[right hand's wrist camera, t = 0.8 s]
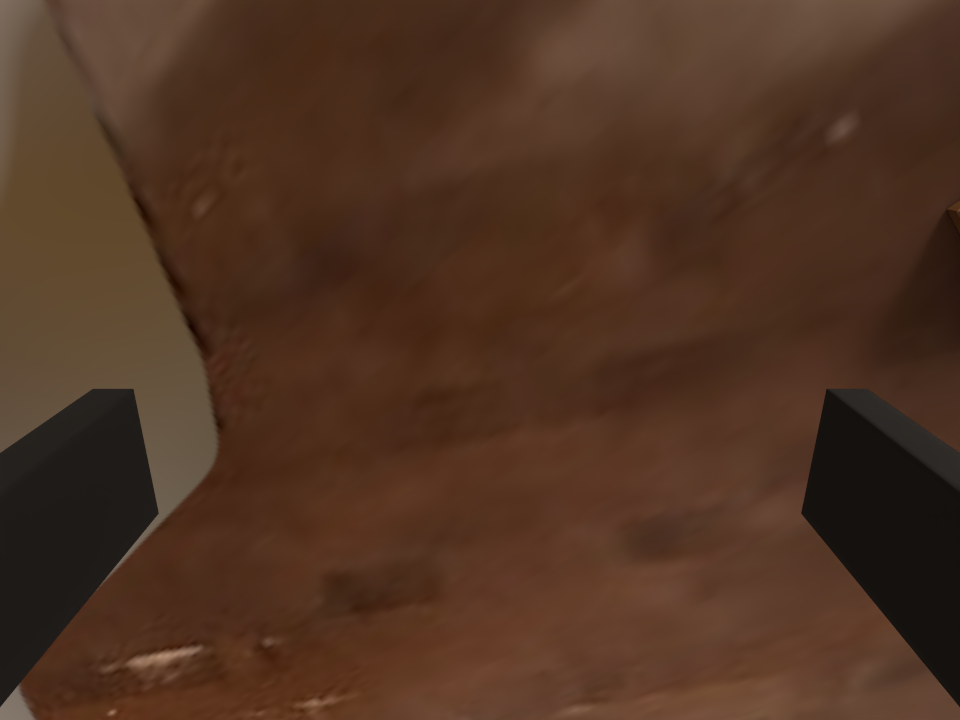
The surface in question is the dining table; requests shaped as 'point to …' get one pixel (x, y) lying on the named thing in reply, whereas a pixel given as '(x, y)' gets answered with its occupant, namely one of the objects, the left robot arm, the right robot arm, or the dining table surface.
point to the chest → (955, 214)
